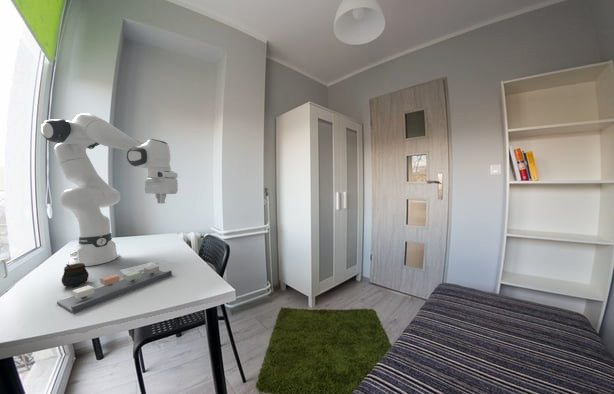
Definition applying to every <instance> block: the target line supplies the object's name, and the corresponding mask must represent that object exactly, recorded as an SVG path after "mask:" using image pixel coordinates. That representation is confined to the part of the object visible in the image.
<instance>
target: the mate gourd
mask: <svg viewBox="0 0 614 394" xmlns="http://www.w3.org/2000/svg"><path fill="white" fill-rule="evenodd" d="M89 276H90V274H89V272H88V270H87V268H86V266H85V264H84V263H76V264H71V265H69V263H68V264H65V266H64V267H63V275H62V277H61V283H62V285H63V287H66V288H74V287H79V286H82V285H84V284H85V283H86V282H88V279H89Z"/></svg>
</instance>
